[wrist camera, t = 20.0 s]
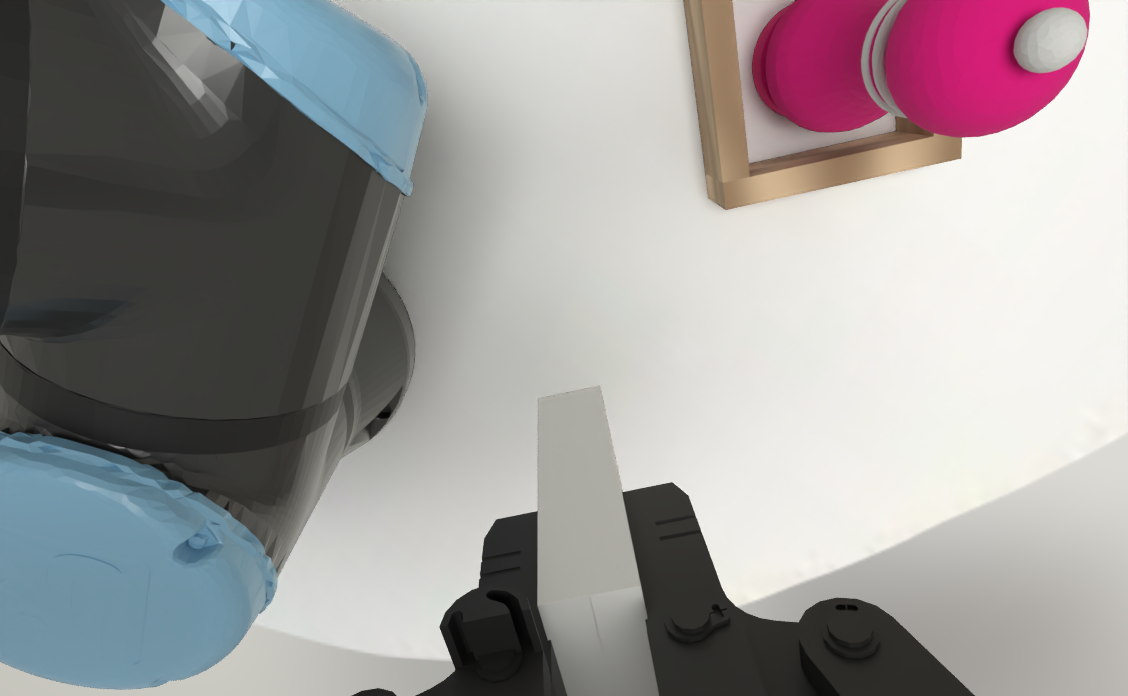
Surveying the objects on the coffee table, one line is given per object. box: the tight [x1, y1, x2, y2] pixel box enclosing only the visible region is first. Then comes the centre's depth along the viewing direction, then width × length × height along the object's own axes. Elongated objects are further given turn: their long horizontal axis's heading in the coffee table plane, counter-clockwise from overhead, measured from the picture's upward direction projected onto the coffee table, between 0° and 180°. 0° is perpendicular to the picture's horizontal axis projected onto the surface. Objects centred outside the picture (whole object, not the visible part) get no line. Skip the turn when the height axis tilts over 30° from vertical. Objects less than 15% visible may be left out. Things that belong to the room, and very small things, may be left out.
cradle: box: [684, 0, 962, 210], centre depth 35 cm, size 13×13×4 cm
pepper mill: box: [753, 0, 1090, 138], centre depth 28 cm, size 7×7×20 cm
